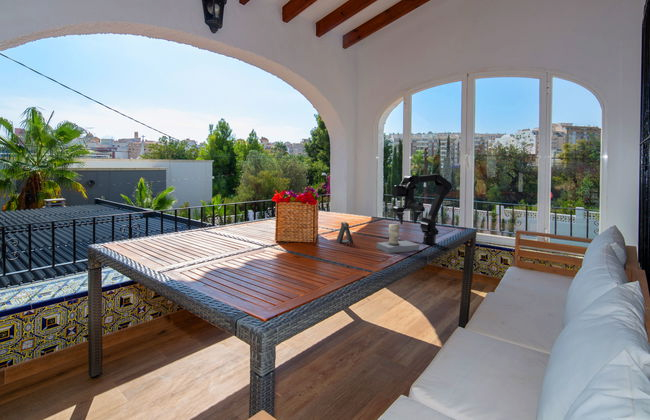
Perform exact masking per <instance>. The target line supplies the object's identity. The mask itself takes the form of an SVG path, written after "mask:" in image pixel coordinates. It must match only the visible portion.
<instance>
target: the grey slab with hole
mask: <svg viewBox="0 0 650 420" xmlns="http://www.w3.org/2000/svg"><path fill="white" fill-rule="evenodd" d="M388 243H389V241H385V242H384V241H382V242H376V249H378V250H381V251H383V252H385V253H387V254H392V253H394V254H395V253H403V252H412V251H414V250H415V251H419V250H420V244H418V243H415V242H412V241H410V240H398V243H399V245H393V246H392V245H389V244H388Z"/></svg>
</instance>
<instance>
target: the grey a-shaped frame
mask: <svg viewBox="0 0 650 420" xmlns="http://www.w3.org/2000/svg"><path fill="white" fill-rule="evenodd" d="M340 226H341V227H340V229H339V232H338V234H337V238H336V242H337V243H339V244H348V243H349V244H350V243H351V242H353V243H354V240H353V237H352V233H351V231H350V224H349V223H348V222H346V221H342V222H341V223H340ZM345 236H346V239H344V237H345Z"/></svg>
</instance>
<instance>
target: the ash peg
mask: <svg viewBox="0 0 650 420" xmlns="http://www.w3.org/2000/svg"><path fill="white" fill-rule="evenodd" d="M388 237H389V239H388V242H389V243H388V244H389V245H392V246H393V245H399V243H398V241H399V237H400V224H398V223H390V224H388Z"/></svg>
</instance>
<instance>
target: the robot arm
mask: <svg viewBox="0 0 650 420" xmlns="http://www.w3.org/2000/svg"><path fill="white" fill-rule="evenodd" d="M425 182H426V183H427V182H433V183H434V185H435V186H436V188H435V190H436V194H435V197H434V199H433V202H432V204H431V207H430V208H429V212H428V214H427V215H426V217H422V219H421V221H420V229H421V231H422V232H421V233H423V239H422V241H421V244H424V245H428V246H431V245H432V246H433V245H438V243H437V242H436V238H437V235H439V230H438V228H437V227H436V226H437V220H436V219H437V217H438V214H439V211H440V209H441V207H442V204H443V202H444V200H445V198H446V197H447V196H448V195H449V194H450V191H451V190H452V189H453V185H452V183H451V182H450V181H449V180H448V179H446V178H445V177H443V176H442V175H441V174H440V173H431V174H422V175H413V174H406V175H404V177H403V179H402V181H401V182H400V183H399V185H394V186H393V188H392V190H391V195H392V198H402V200H403V205H402V206H393V208H392V212H393V213H394V214H396V216H397V218H398V220H399V223H400V225H403V223H404V215H405V212H407V211H410V212H411V211H412V217H413V224H416V223H417V222H418V221H417V220H418V219H419V217H420V215H421V214H423V213H424V212H425V211H426V208H425V206H424V203H423V202H421V201H420V202H417V199H416V197H415V195H416V194H415V193H416V190H418V189H419V187H418V186H417V185H418V184H420V183H425Z"/></svg>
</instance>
